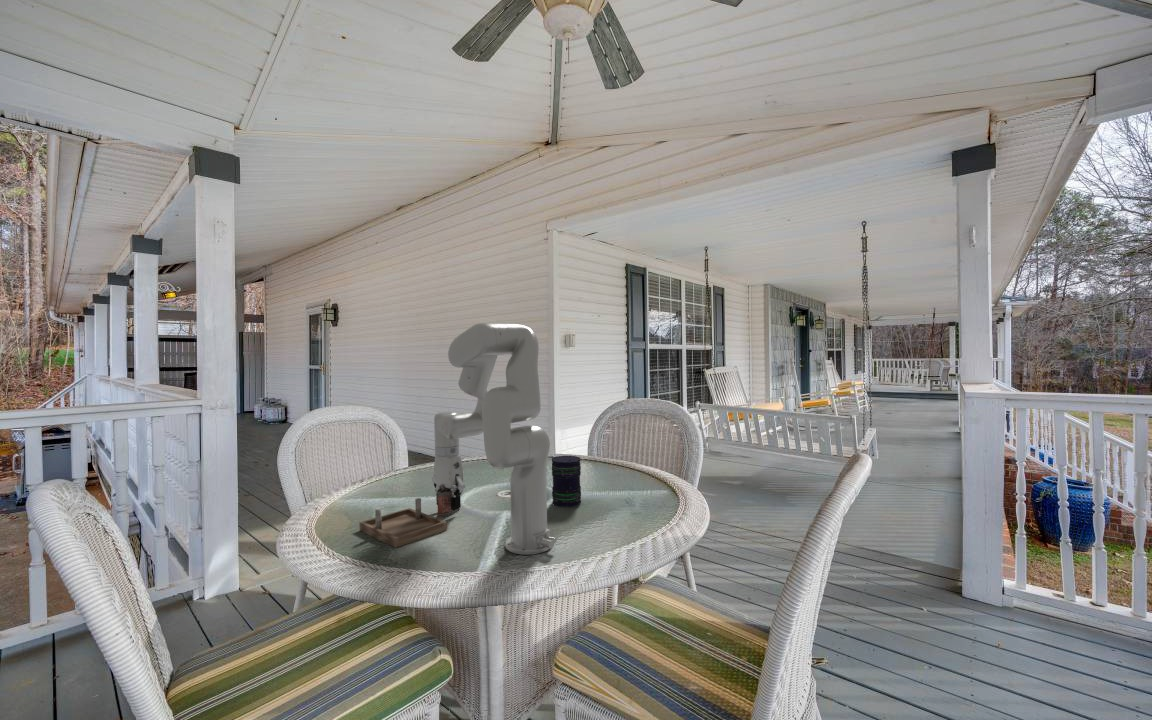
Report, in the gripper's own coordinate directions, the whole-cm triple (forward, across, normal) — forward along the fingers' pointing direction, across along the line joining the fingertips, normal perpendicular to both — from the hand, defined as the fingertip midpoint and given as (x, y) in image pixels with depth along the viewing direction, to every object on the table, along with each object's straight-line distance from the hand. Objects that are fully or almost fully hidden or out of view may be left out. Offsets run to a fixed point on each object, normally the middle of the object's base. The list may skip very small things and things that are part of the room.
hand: (448, 505), depth 156 cm
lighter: (+3, 0, 0) cm, 3 cm away
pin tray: (+2, -2, +17) cm, 17 cm away
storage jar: (+3, -23, -31) cm, 39 cm away
